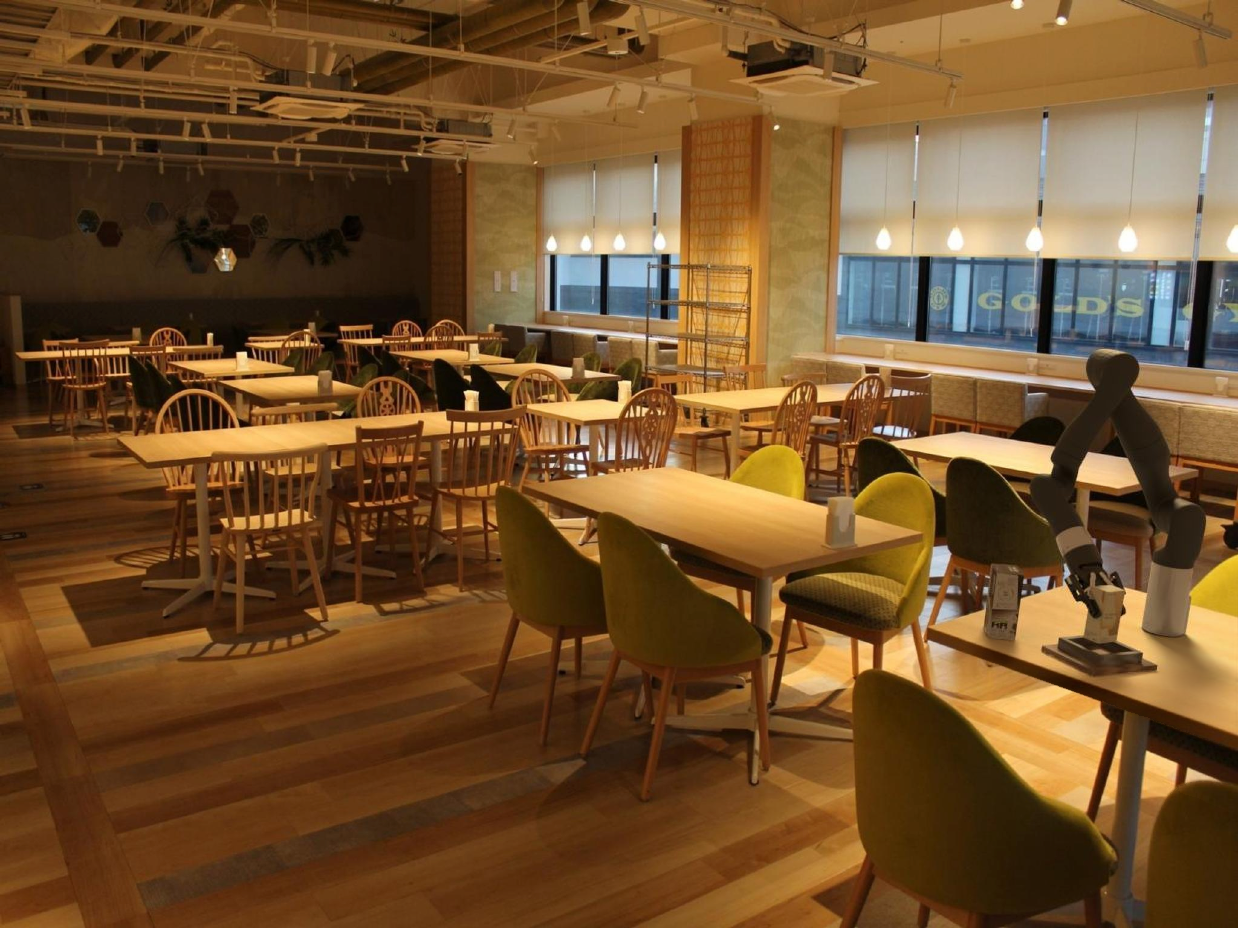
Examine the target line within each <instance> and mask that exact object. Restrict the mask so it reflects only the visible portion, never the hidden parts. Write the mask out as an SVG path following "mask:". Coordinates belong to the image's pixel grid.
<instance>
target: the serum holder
mask: <svg viewBox="0 0 1238 928" xmlns="http://www.w3.org/2000/svg"><path fill="white" fill-rule="evenodd" d="M1041 651H1042V652H1043V653H1046V654H1048V655H1050V656H1052V657H1054V658H1056V659H1058V660H1060V661H1062V662H1064V663H1066V664H1067V665H1070V666H1072V667H1074V668H1075V669H1077V670H1080V671H1082V672H1084V673H1086V674H1088V675H1089V676H1091V677H1094V678H1095V677H1104V676H1114V675H1121V674H1131V673H1132V674H1134V673H1141V672H1152V671H1157V670H1158V666H1159V664H1156V663H1154V662H1152V661H1150V660H1148V659H1145V658H1143V655H1144V652H1142V651H1141V650H1138V649H1136V648H1134V647H1131V646H1129V645H1127V644H1125V643H1123V642H1120V641H1118V640H1117V641H1115V642H1107V643H1100V644H1098V643H1096V642H1094V641H1091V640H1089V639H1086V638H1084V634H1081V635H1072V636H1069V635H1068V636H1059V637H1058V641H1057V643H1056V644H1053V643H1052V644H1046V645H1045V644H1044V645H1042V644H1041Z"/></svg>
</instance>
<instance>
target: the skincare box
mask: <svg viewBox="0 0 1238 928" xmlns="http://www.w3.org/2000/svg"><path fill="white" fill-rule="evenodd" d="M1125 592H1126V590H1123V589H1120V588H1118V587H1115V586H1112V585H1101V586H1092V593H1093V595H1094V599H1093V600H1095V601H1096V603H1097V605H1098V607H1099V609H1100V611H1101V616H1100V617H1098V618H1095V619H1094V618H1093V617H1092V616H1091V615H1090V613H1089V611H1088V610H1087V614H1086V620H1085V626H1084V631H1083V632H1084V633H1083V635H1084V638H1086V639H1089V640H1091V641H1094V642H1096V643H1098V644H1100V643H1107V642H1115V641H1118V635H1119V628H1120V622H1121V612H1122V606H1123V605H1124V599H1125V595H1126V594H1125Z"/></svg>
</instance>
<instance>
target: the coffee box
mask: <svg viewBox="0 0 1238 928" xmlns="http://www.w3.org/2000/svg"><path fill="white" fill-rule="evenodd" d="M1024 579H1025V574H1024V572H1023V571H1022V570H1021V568H1020V567H1019V566H1018V565H1013V564H1005V563H1001V564H1000V563H999V564H998V563H991V565H990V572H989V580H988V587H987V588H988V589H987V596H986V606H985V614H984V622H983V627H984V630H985V633H986V634H987V637H988V638H990V639H999V640H1006V641H1013V642H1014V641H1016V636H1017V628H1018V623H1019V617H1020V616H1019V615H1020V609H1021V607H1020V606H1021V599H1022V593H1023V587H1024Z"/></svg>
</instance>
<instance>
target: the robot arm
mask: <svg viewBox="0 0 1238 928" xmlns="http://www.w3.org/2000/svg"><path fill="white" fill-rule="evenodd" d="M1085 364H1086V365H1085V372H1086V378H1087V380H1088V381H1089V383H1090V385H1091V386H1092V387H1093V390H1094V391H1095V392H1094V394H1093V395H1092V397H1091V399H1090V400H1089V401H1088V403H1087V404H1086V406H1085V407H1084V408H1083V409H1082V410H1081V411H1080V413H1078V414H1077V415H1076V416H1075V417H1074V418H1073V420H1072V421H1071V422H1070V423H1069V424H1068V425H1067V426H1066V428H1064V430H1063V432H1062V433H1061V435H1060V437H1059V439H1058V441H1057V442H1056V444H1055V447H1054V449H1053V450H1052V452H1051V454H1050V458H1049V459H1050V463H1052V469H1051V472H1050V473H1046V472H1045V473H1042V472H1041V473H1038V474H1036V475H1035V476H1034V477H1032V479H1031V480H1030V481H1029V482H1030V483H1029V494H1030V497H1031V499H1032V501H1033V503H1034V504H1035V506H1036V508H1037V509H1038V510H1039V512H1040V514H1041V515H1042V516H1043V518H1044V519H1045V520H1046V521H1047V523H1048V525H1049V527H1050V530H1051V532H1052V534H1053V536H1054V538H1055V541H1056V544H1057V547H1058V550H1059V551H1060V554H1061V556H1062V559H1063V561H1064V562H1065V565H1066V567H1067V569H1068V571H1069V573H1070V575H1068V576H1067V577H1065V578H1064V579H1063V581H1064V583H1065V584H1066V586H1067V589H1069V592H1070V594H1071V596H1072V597H1073V599H1074V601H1076V602H1077V603H1079V602H1081V603H1083V604H1084V605H1085V607H1086V609H1087V612H1088V611H1089V613H1090V615H1091V616H1092V617H1093V618H1094V619H1095V618H1098V617H1100V616H1101V611H1100V609H1099V607H1098V605H1097V603H1096V601H1095V600H1093V599H1094V595H1093V593H1092V586H1101V585H1112V586H1115V587H1118V588H1120V589H1123V590H1125V586H1124V584H1123V582H1122V580H1121V578H1120V575H1119V572H1118V571H1113V572H1107V570H1105V569H1104V567H1103V565H1104V560H1103V558H1102V556H1101V553H1100V552H1099V550H1098V548H1097V546H1096V544H1095V542H1094V539H1093V538H1092V535H1091V534H1090V532H1089V531H1088V530H1087V528H1086V527H1085V523H1084V522H1083V520H1082V518H1081V516H1080V513H1079V512H1078V511H1077V510H1076V509H1075V508H1074V507H1073V506H1072V505H1070V503H1069V502H1068V501H1069V499H1070V498H1071V497H1072V494H1073V493H1074V489H1075V486H1076V482H1077V479H1078V476H1079V471H1080V467H1081V466H1082V464H1083V462H1084V460H1085V458H1086V457H1087V455H1088V453H1089V450H1090V449H1091V448H1092V445H1093V443H1094V441H1095V440H1096V438H1097V436H1098V434H1099V433H1100V432H1101V430H1102V428H1103V427H1104V425H1105V424H1106V423H1107V421H1108V420H1110V421H1111V424H1112V426H1113V429H1114V430H1115V433H1116V435H1117V438H1118V439H1119V443H1120V445H1121V447H1122V449H1123V451H1124V454H1125V456H1126V458H1127V460H1128V463H1129V465H1130V466H1131V467H1132V470H1133V474H1134V475H1135V478H1136V479H1137V482H1138V483H1139V485H1140V487H1141V490H1142V493H1143V495H1144V499H1145V502H1146V505H1147V508H1148V511H1149V515H1150V518H1151V520H1152V523H1153V524H1154V526H1155V527H1156V529H1157V530H1159V531H1160V532H1161V533H1164V534H1166V535H1167V537H1166V541H1165V545H1164V546H1163V547H1158V548H1156V549H1154V550H1153V553H1152V559H1151V564H1150V572H1149V579H1148V584H1147V591H1146V597H1145V604H1144V609H1143V615H1142V616H1143V617H1142V620H1141V621H1142V623H1141V628H1142V629H1143V630H1144V631H1146V632H1148V633H1151V634H1155V635H1158V636H1163V637H1172V638H1173V637H1175V638H1176V637H1181V636H1183V635H1184V634H1186V633H1187V628H1188V621H1189V617H1190V616H1189V615H1190V611H1191V606H1192V605H1191V602H1192V596H1191V595H1190V593H1191V586H1192V580H1193V573H1194V567H1195V563H1196V561H1197V559H1198V557H1199V556H1200V554H1201V551H1202V547H1203V541H1204V537H1205V532H1206V527H1207V516H1206V513H1205V510H1204V509H1203V508H1202V507H1201V506H1200V505H1198V504H1197V503H1194V502H1191V501H1188V500H1185V499H1183V498H1182V497H1181V496H1180V495H1179V494H1178V492H1177V490H1176V487H1174V484H1173V482H1172V479H1171V476H1170V465H1171V464H1170V463H1171V454H1170V453H1171V452H1170V448H1169V446H1168V444H1167V441H1166V438H1165V436H1164V434H1163V431H1162V429H1161V428H1160V425H1159V424H1158V422H1157V421H1156V420H1155V419H1154V418H1153V416H1152V415H1151V414H1150V412H1149V411H1148V410H1147V409H1146V408H1145V407H1144V405H1142V404H1141V402H1140V401H1139V400H1138V399H1137V397H1136V396H1135V394H1134V393H1133V390H1132V387H1134V384H1135V383H1136V381H1137V380H1138V378H1139V374H1140V368H1141V367H1140V363H1139V361H1138V359H1137V358H1136V357H1135V356H1134V355H1133V354H1131V353H1129V352H1126V351H1121V350H1117V349H1111V348H1101V349H1100V348H1099V349H1097V350H1094V352H1092V353H1091V354H1090V355H1089V356H1088V358H1087V360H1086V363H1085ZM1126 594H1127V592H1126V590H1125V595H1126ZM1126 614H1127V609H1126V607H1125V605H1124V604H1123V606H1122V612H1121V617H1123V616H1125V615H1126Z"/></svg>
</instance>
